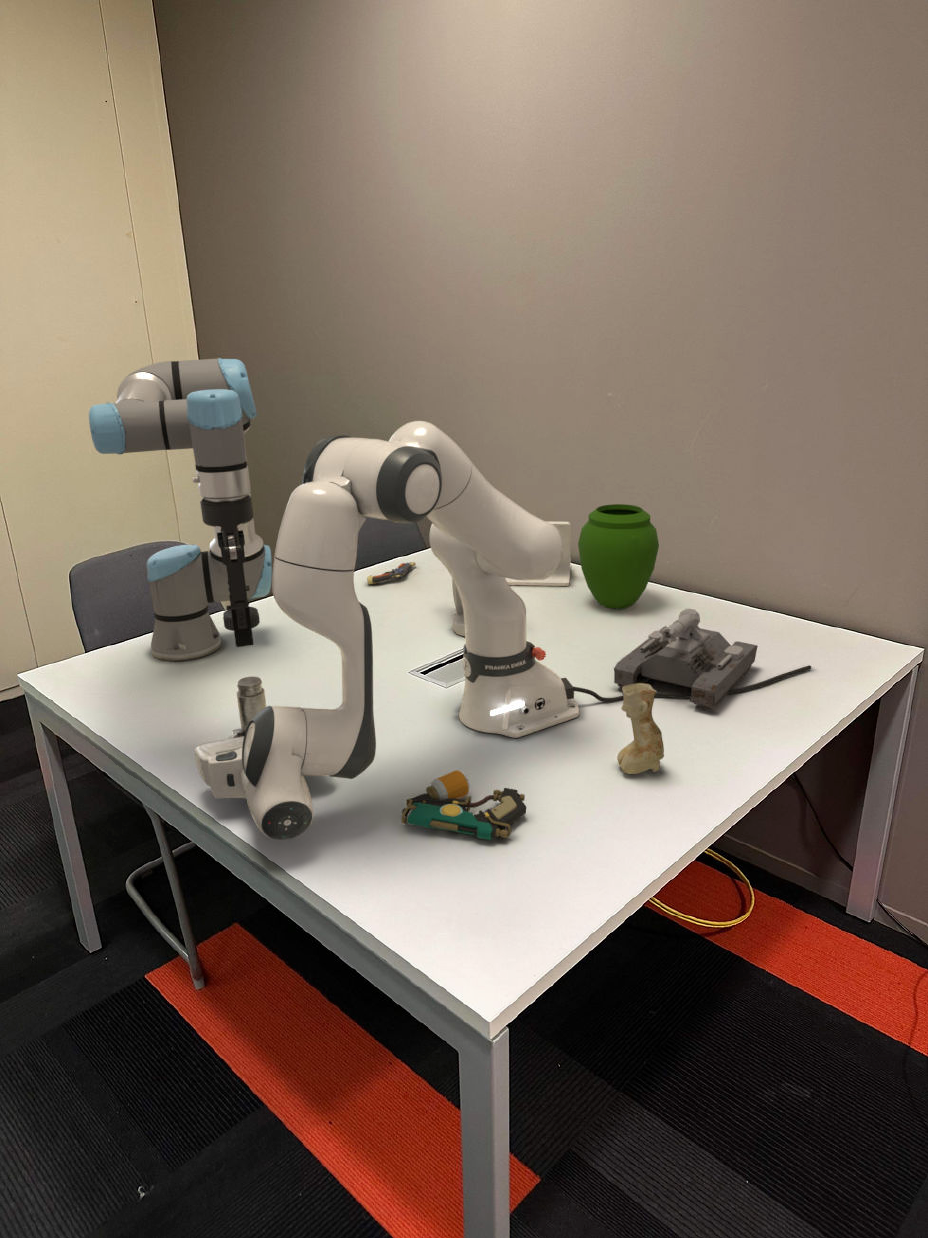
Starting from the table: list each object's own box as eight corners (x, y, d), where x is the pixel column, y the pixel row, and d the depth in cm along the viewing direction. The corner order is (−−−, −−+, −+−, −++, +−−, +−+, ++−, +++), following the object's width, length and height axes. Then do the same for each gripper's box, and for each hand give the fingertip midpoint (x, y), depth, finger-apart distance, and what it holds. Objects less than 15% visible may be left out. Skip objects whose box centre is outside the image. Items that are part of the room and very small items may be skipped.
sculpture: (613, 761, 142) (616, 680, 137) (655, 758, 143) (660, 676, 138) (623, 780, 137) (627, 695, 132) (667, 776, 138) (672, 692, 132)
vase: (599, 587, 227) (601, 497, 218) (668, 600, 216) (673, 505, 208) (562, 608, 212) (564, 513, 204) (634, 623, 202) (639, 523, 193)
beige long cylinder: (278, 764, 145) (268, 680, 140) (256, 775, 142) (245, 689, 136) (263, 756, 148) (252, 673, 142) (241, 766, 145) (229, 681, 139)
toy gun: (364, 577, 233) (399, 574, 231) (383, 561, 251) (416, 558, 249) (366, 586, 234) (400, 583, 232) (384, 570, 252) (417, 567, 250)
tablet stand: (569, 585, 229) (570, 524, 223) (476, 584, 232) (475, 523, 226) (570, 566, 246) (571, 508, 240) (484, 564, 249) (483, 507, 243)
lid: (253, 616, 140) (251, 603, 139) (264, 626, 135) (263, 613, 134) (220, 623, 137) (218, 610, 136) (230, 633, 133) (228, 620, 132)
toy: (664, 648, 187) (668, 583, 182) (755, 667, 176) (762, 599, 171) (612, 690, 168) (615, 619, 163) (711, 715, 157) (717, 639, 152)
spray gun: (537, 812, 130) (487, 868, 119) (446, 778, 138) (391, 827, 127) (539, 789, 129) (488, 844, 117) (446, 756, 137) (390, 804, 125)
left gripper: (199, 486, 136) (218, 622, 144) (200, 512, 119) (221, 663, 128) (247, 482, 138) (263, 616, 146) (254, 507, 121) (272, 657, 130)
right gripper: (332, 736, 134) (314, 701, 146) (198, 764, 127) (190, 724, 139) (336, 772, 136) (317, 734, 148) (203, 800, 129) (195, 758, 141)
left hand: (243, 638), depth 137 cm, fingers closed on lid, 5 cm apart
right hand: (254, 729), depth 143 cm, fingers closed on beige long cylinder, 4 cm apart
